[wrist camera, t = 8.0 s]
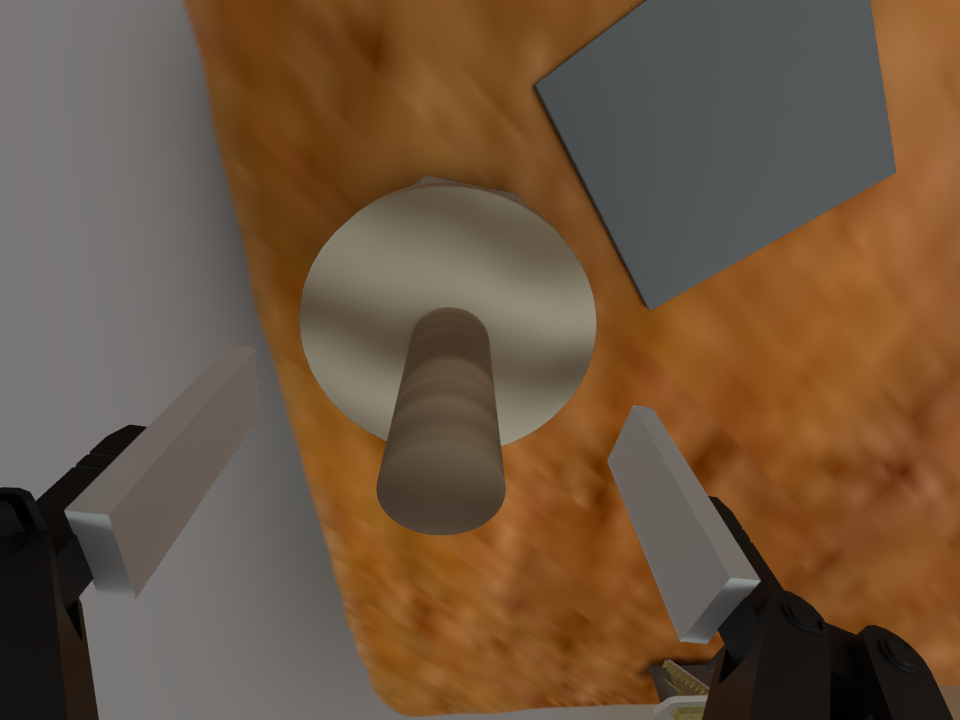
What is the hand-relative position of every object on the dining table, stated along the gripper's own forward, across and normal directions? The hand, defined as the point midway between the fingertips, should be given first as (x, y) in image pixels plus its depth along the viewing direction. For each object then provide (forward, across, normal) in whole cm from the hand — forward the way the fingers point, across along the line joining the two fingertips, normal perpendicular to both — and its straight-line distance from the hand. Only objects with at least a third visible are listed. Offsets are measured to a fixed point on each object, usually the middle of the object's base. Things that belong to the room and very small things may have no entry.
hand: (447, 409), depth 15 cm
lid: (+7, 0, 0) cm, 7 cm away
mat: (+12, +12, +11) cm, 20 cm away
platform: (+13, +34, -40) cm, 54 cm away
